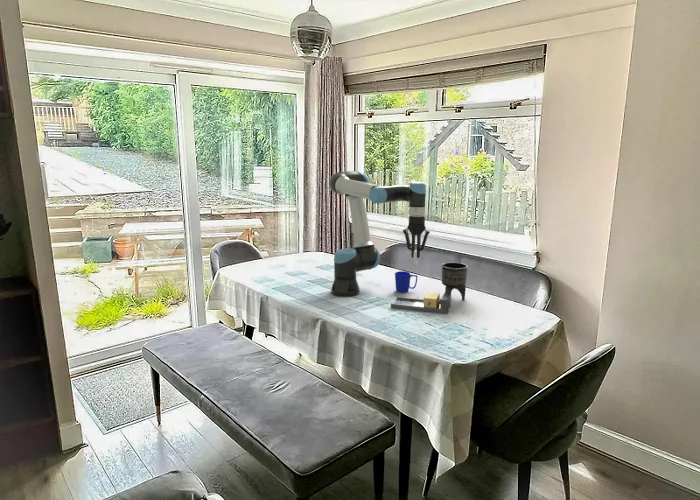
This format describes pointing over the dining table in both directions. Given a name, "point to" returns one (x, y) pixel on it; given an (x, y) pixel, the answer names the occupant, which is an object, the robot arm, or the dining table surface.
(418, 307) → the tray
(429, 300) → the block
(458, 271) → the planter
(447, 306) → the dark grey block
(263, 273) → the dining table surface
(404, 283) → the mug
